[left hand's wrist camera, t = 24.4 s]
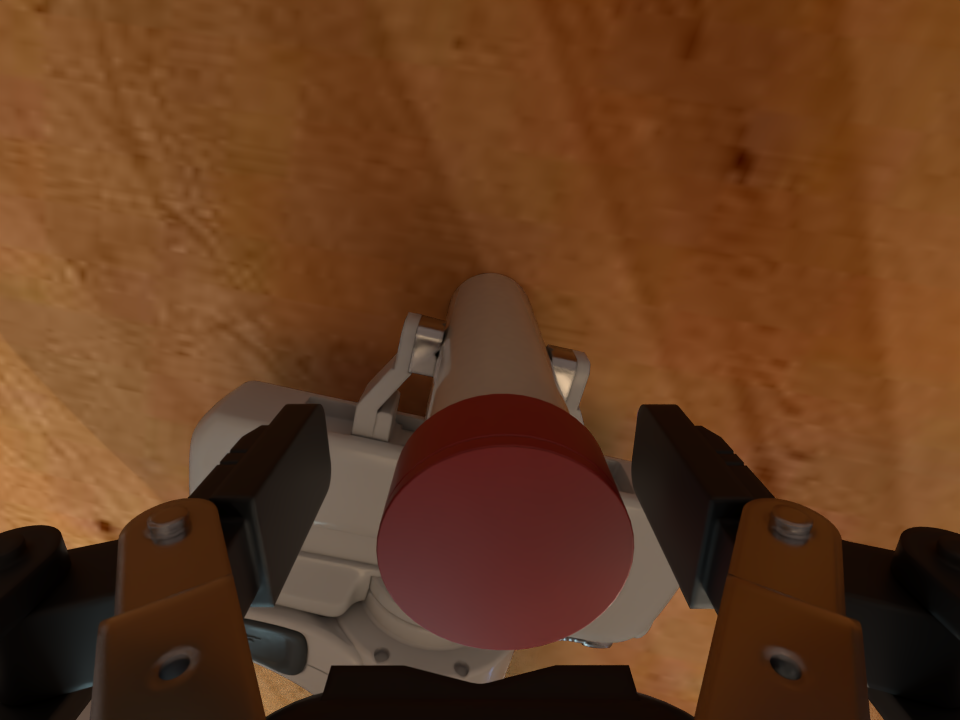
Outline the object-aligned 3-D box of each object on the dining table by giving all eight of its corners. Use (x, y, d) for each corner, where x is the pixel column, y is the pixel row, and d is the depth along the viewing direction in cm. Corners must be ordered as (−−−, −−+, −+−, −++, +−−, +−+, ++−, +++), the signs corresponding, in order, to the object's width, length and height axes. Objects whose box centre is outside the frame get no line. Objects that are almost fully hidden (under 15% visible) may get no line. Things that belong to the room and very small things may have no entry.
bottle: (437, 338, 25) (378, 580, 10) (463, 261, 24) (437, 415, 9) (513, 363, 26) (558, 628, 11) (543, 289, 24) (640, 478, 10)
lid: (533, 349, 10) (546, 394, 8) (645, 511, 12) (679, 583, 10) (349, 465, 11) (321, 530, 9) (474, 602, 13) (473, 683, 11)
